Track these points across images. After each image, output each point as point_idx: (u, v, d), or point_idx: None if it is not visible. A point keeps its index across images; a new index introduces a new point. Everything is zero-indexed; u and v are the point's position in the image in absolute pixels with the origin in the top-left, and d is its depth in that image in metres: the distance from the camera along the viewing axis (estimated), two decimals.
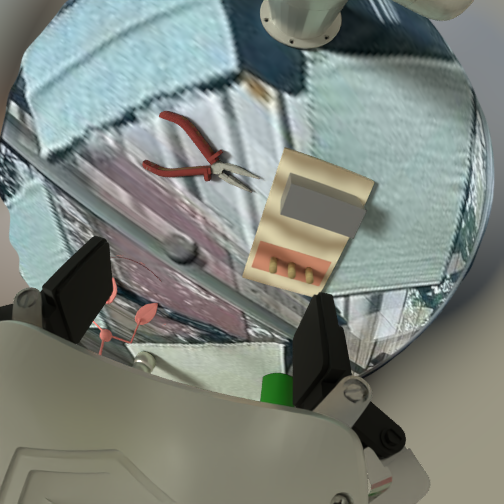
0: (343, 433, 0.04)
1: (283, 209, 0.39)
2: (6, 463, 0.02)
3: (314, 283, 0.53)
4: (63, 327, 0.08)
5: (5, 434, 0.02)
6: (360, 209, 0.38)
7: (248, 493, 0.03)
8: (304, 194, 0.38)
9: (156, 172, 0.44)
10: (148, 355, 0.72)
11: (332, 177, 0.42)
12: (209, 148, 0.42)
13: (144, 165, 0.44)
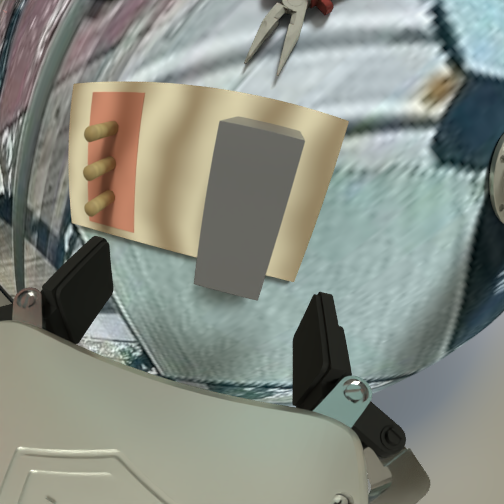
0: (343, 433, 0.04)
1: (234, 126, 0.14)
2: (6, 463, 0.02)
3: None
4: (63, 327, 0.08)
5: (5, 434, 0.02)
6: (258, 289, 0.20)
7: (248, 493, 0.03)
8: (279, 173, 0.16)
9: None
10: None
11: (297, 211, 0.23)
12: None
13: None
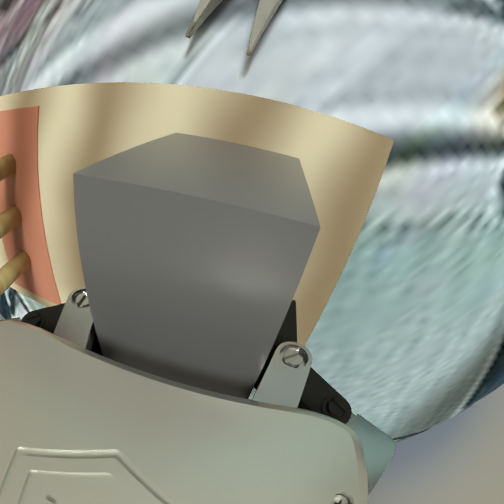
0: (343, 433, 0.04)
1: (106, 188, 0.05)
2: (6, 463, 0.02)
3: None
4: None
5: (5, 434, 0.02)
6: None
7: (248, 493, 0.03)
8: (242, 310, 0.06)
9: None
10: None
11: None
12: None
13: None
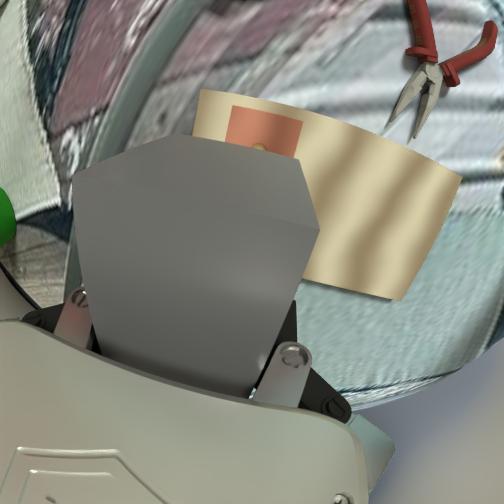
0: (343, 433, 0.04)
1: (105, 190, 0.05)
2: (6, 463, 0.02)
3: None
4: None
5: (5, 434, 0.02)
6: None
7: (248, 493, 0.03)
8: (241, 312, 0.06)
9: None
10: None
11: (417, 245, 0.25)
12: (459, 70, 0.15)
13: None
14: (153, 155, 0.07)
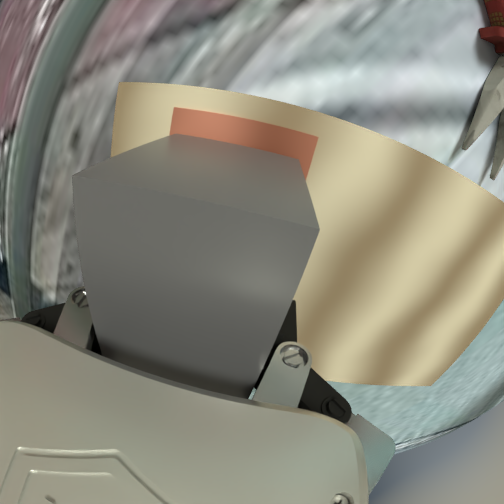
0: (343, 433, 0.04)
1: (105, 190, 0.05)
2: (6, 463, 0.02)
3: None
4: None
5: (5, 434, 0.02)
6: None
7: (248, 493, 0.03)
8: (241, 312, 0.06)
9: None
10: None
11: (469, 327, 0.14)
12: None
13: None
14: (153, 155, 0.07)
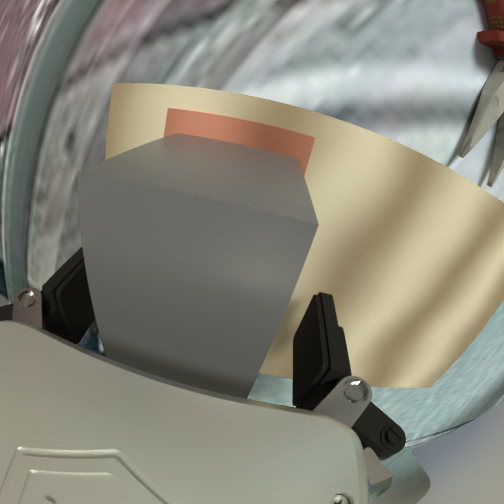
0: (343, 433, 0.04)
1: (110, 187, 0.05)
2: (6, 463, 0.02)
3: None
4: (63, 327, 0.08)
5: (5, 434, 0.02)
6: None
7: (248, 493, 0.03)
8: (243, 306, 0.06)
9: None
10: None
11: (468, 328, 0.14)
12: None
13: None
14: (156, 154, 0.07)
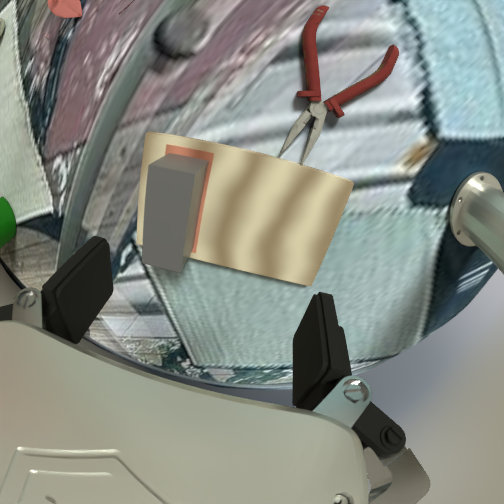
0: (343, 433, 0.04)
1: (156, 168, 0.25)
2: (6, 463, 0.02)
3: None
4: (63, 327, 0.08)
5: (5, 434, 0.02)
6: (180, 265, 0.31)
7: (248, 493, 0.03)
8: (182, 193, 0.26)
9: (313, 22, 0.21)
10: None
11: (316, 240, 0.35)
12: (346, 101, 0.26)
13: (324, 8, 0.20)
14: (164, 161, 0.27)
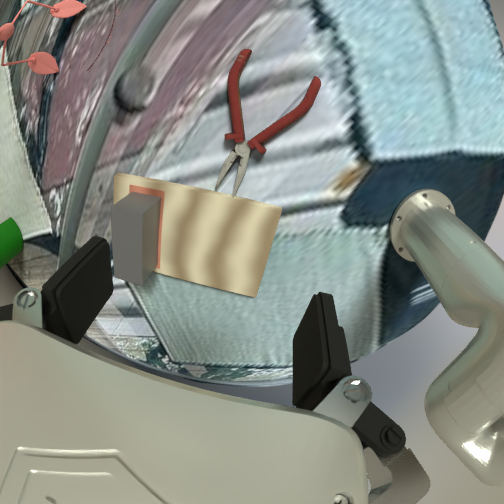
0: (343, 433, 0.04)
1: (116, 209, 0.33)
2: (6, 463, 0.02)
3: None
4: (63, 327, 0.08)
5: (5, 434, 0.02)
6: (141, 280, 0.38)
7: (248, 493, 0.03)
8: (136, 228, 0.34)
9: (234, 69, 0.28)
10: None
11: (254, 259, 0.42)
12: (268, 138, 0.33)
13: (245, 52, 0.27)
14: (124, 201, 0.35)
